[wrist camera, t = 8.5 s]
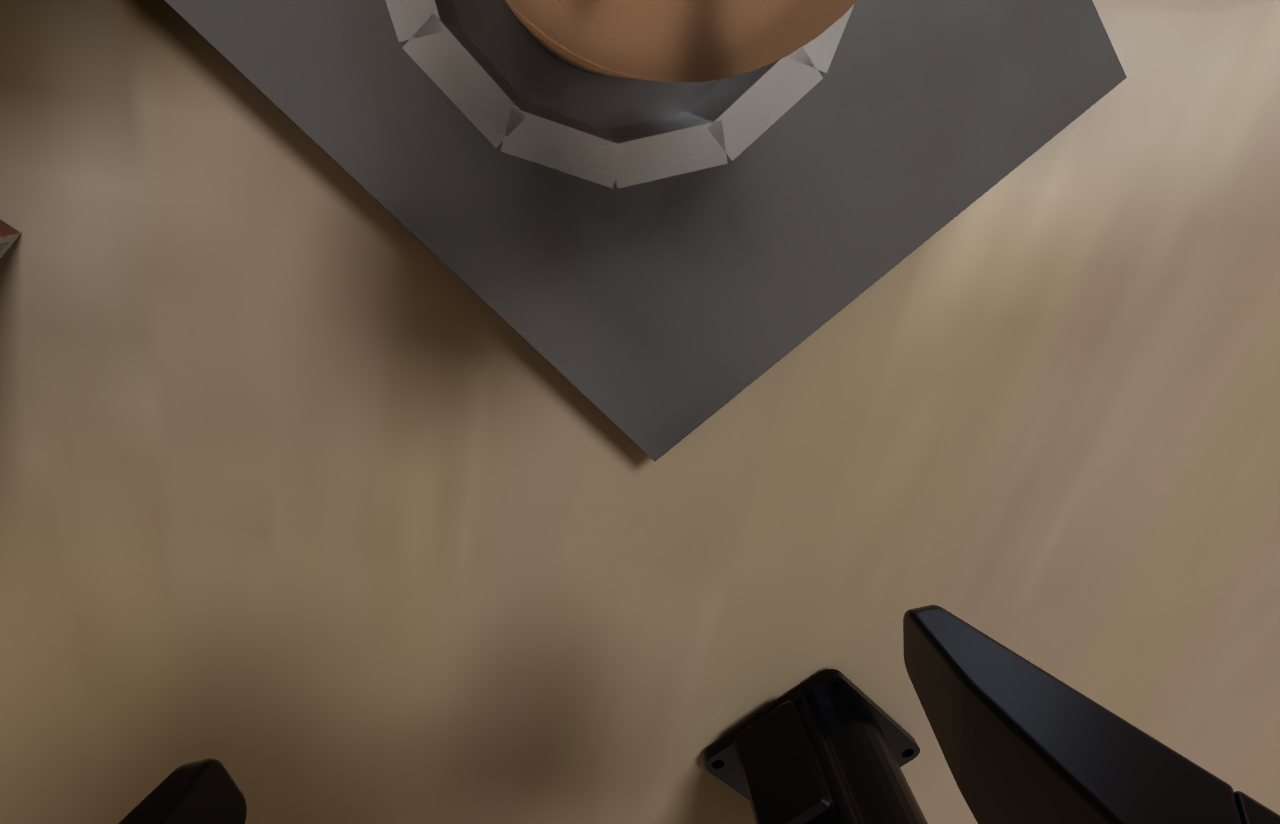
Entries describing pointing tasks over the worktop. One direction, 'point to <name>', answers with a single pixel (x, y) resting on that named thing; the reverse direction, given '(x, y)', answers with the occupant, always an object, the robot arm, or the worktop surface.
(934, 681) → the robot arm
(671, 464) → the worktop surface
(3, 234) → the food container
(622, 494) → the worktop surface
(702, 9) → the elbow
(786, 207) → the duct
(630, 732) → the worktop surface
